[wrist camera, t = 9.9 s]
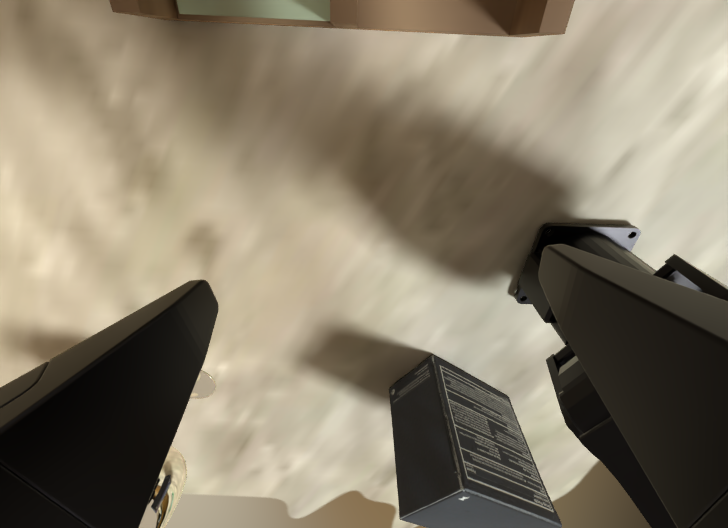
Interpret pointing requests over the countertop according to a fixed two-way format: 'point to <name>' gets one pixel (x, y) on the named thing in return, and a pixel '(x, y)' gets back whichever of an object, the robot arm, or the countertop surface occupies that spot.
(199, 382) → the wineglass
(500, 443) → the small box
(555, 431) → the countertop surface
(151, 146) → the countertop surface
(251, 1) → the slot rack
